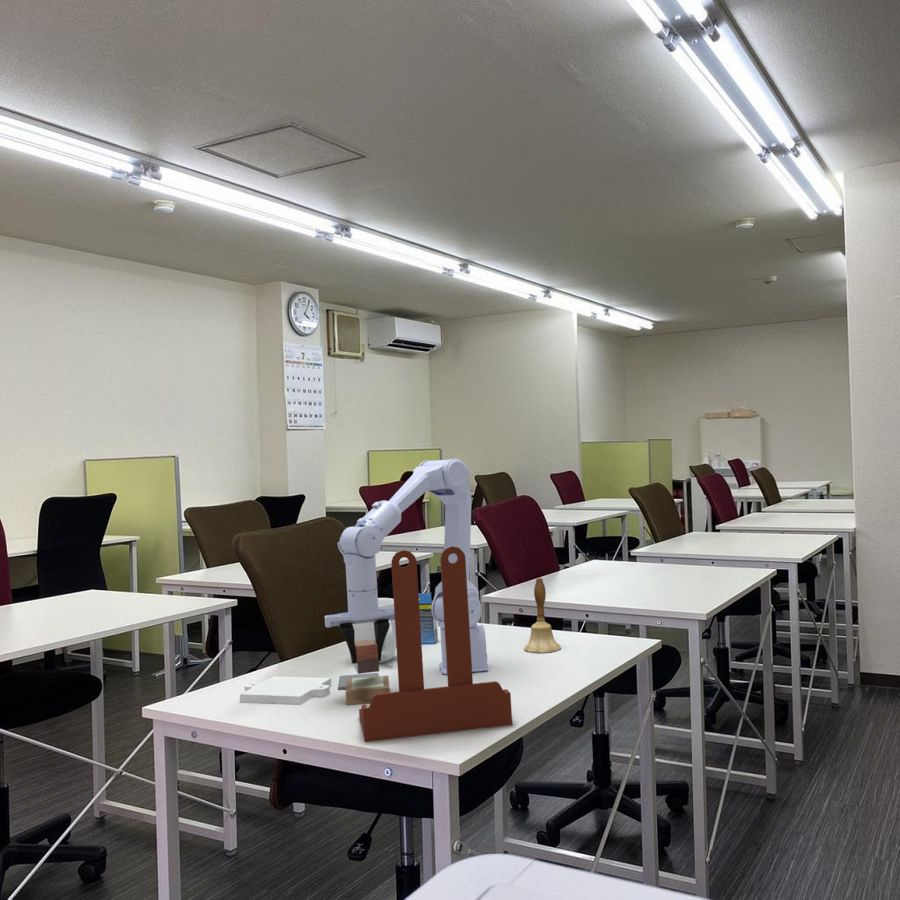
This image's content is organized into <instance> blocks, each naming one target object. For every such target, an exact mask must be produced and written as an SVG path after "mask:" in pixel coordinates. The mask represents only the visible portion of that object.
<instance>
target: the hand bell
mask: <svg viewBox="0 0 900 900" xmlns="http://www.w3.org/2000/svg"><path fill="white" fill-rule="evenodd" d="M535 580H536V581H535V584H534V588H533V589H534V590H533V593H534V594H533V596H534V600H535V603H536V608H537V609H536V622H535V623H533V624H532V625H531V627H530V628H531V630H530V636H529V641H528V642H527V644H526V645H525V646H524V649H523V650H524V651H525V652H528V653H532V654H536V653H538V654H545V653H554V652H558V651H560V650H561V647H562V646H561V645H560V644H559V643H558V642H557V641H556V639H555V637H554V635H553V634H554V633H553V630H552V626H551V624H550V623H548V622H546V621H545V608H544V607H545V601H546V594H547V593H546V586H545V584H544V580H543V578H541V577H537V578H536V579H535Z"/></svg>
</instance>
